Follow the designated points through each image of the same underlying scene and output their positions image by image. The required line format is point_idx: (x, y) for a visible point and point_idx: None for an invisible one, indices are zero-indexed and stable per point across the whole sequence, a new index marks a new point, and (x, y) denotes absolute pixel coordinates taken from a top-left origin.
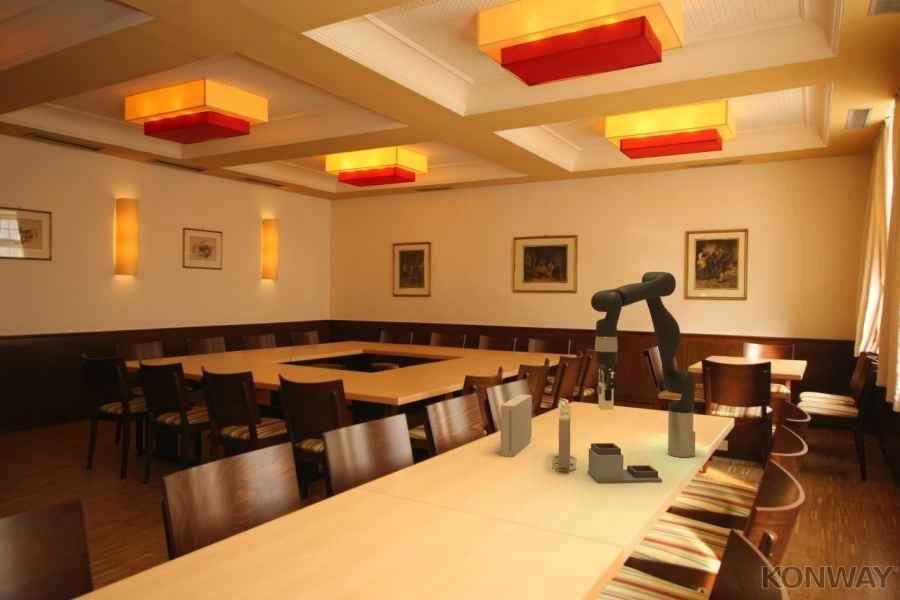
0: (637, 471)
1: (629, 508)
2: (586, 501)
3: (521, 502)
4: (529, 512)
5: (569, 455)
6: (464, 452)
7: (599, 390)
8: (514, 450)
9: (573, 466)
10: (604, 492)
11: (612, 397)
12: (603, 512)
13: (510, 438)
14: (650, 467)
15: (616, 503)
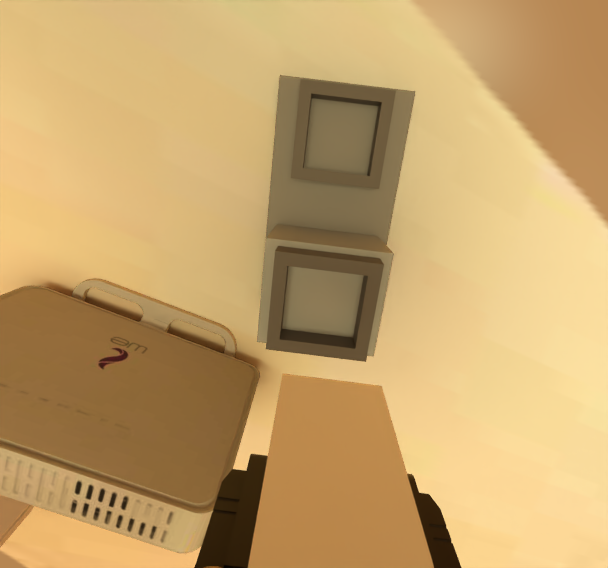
0: (373, 176)
1: (596, 325)
2: (504, 405)
3: (460, 532)
4: (526, 536)
5: (249, 390)
6: (30, 544)
7: None
8: None
9: (202, 327)
10: (452, 332)
11: (403, 478)
12: (593, 398)
13: None
14: (333, 91)
15: (547, 340)
